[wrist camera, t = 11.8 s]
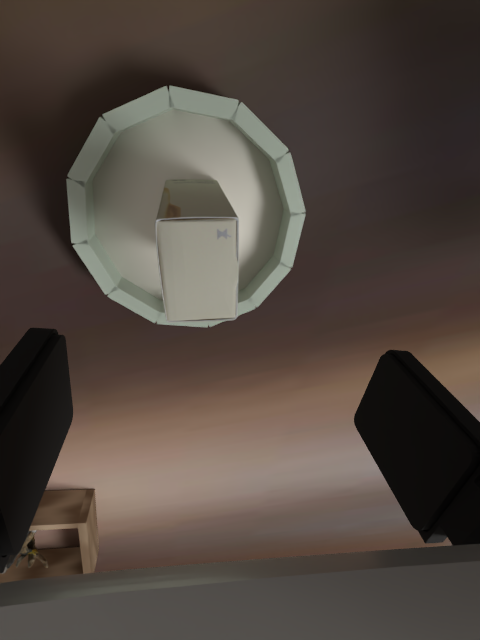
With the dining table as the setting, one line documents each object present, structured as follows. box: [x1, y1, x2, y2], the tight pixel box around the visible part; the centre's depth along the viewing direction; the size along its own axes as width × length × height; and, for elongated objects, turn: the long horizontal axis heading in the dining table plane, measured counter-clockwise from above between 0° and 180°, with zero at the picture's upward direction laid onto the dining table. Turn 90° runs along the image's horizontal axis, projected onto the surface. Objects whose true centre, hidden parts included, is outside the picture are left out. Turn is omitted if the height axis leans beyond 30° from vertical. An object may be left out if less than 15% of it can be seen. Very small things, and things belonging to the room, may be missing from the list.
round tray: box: [66, 85, 306, 327], centre depth 28 cm, size 18×18×3 cm
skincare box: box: [155, 179, 239, 322], centre depth 23 cm, size 6×4×12 cm
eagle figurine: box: [2, 530, 48, 574], centre depth 43 cm, size 8×7×9 cm
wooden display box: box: [0, 489, 99, 583], centre depth 45 cm, size 15×15×4 cm
